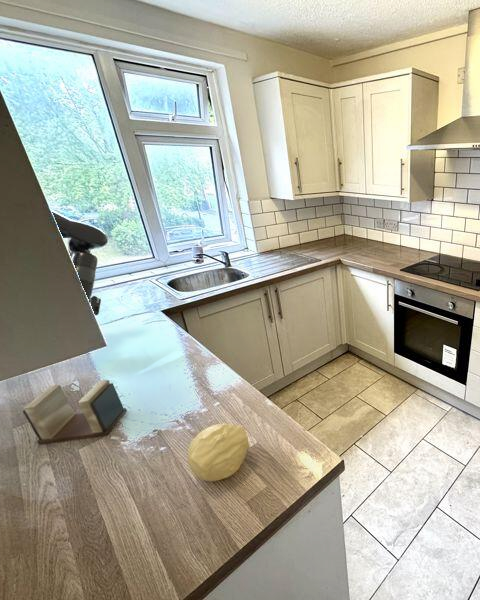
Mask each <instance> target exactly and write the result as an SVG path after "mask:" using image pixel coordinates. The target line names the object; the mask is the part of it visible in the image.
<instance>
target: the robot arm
mask: <svg viewBox="0 0 480 600" xmlns="http://www.w3.org/2000/svg"><path fill="white" fill-rule="evenodd" d="M52 213H53V215H54V217H55V220H56V222H57V225H58V227H59V230H60V232H61V234H62V236H63V238H62V239H67V249H68V254H69V253H70V255H69V257H70V256H71V258H72V261H73V263H74V265H75V268H76V270H77V272H78V275H79V278H80V281H81V283H82V286H83V288H84V290H85V292H86V295H87V297H88V299H89V304H91V306H92V309H93V311H94V314H95V315H94V316H98V315H99V314H100V308H101V302H102V299H101V298H100V297H98V296H96V295H93V296H92V294H93V291H94V287H95V281H96V272H97V267H98V257H97V256H96V255H95V254H94V253H91V251H92V250H96V249H100V248H103V247H105V246H107V244H108V242H109V238H108V236H107V234H106V233H105V232H104V231H103V230H101V228H98V227H96V226H94V225H90V224H88V223H84V222H81V221H77V220H75V219H74V220H73V219H71V218H68V217H67V216H64V215H63V214H60V213H59V212H57V211H54V210H52Z"/></svg>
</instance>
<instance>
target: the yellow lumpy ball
mask: <svg viewBox="0 0 480 600" xmlns="http://www.w3.org/2000/svg"><path fill="white" fill-rule="evenodd" d="M249 449H250V443H249V436H248V435H247V432H246V429H245V427H244V426H243V425H241V424H240V425H239V424H236V425H232V424H229V423H217V424H213V425H210V426H207V427H206V428H204V429H203V430H201V431H200V432H199V433H198V434H197V435H196V436H194V438H193V440H192V441H191V443H190V445H189V447H188V450H187V464H188V467H189V469H190V471H191V472H192V474H193V475H194V476H195V477H197V478H198V479H200V480H202V481H205V482H217V481H221V480H224V479H227V478H229V477H231V476H233V475H234V474H235V473H236V472H237V471H238V470H239V469H240V468H241V465H242V464H243V463H244V460H245V458H246V456H247V452H248V450H249Z"/></svg>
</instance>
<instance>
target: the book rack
mask: <svg viewBox="0 0 480 600" xmlns="http://www.w3.org/2000/svg"><path fill="white" fill-rule="evenodd" d="M77 403H78V405H79V408H80V409H81V411H82V412H79V413H75V411H74V410H73V407H72V405H71V404H70V401H69V400H68V398H67V396H66V394H65V392H64V390H63V388H62V387H61V384H54V385H50V386H49V387H48V388H46V389H45V390H44V391H43V392H41V393H40V394H39V395H37V397H36V398H34V399H33V400H31V401H30V402H29V403H28V404H27V405H26V406H24V408H23V410H22V413H23V415H24V417H25V418H26V420H27V421H28V423H29V425H30V427H31V428H32V430H33V432H34V433H35V435H36V437H37V438H38V439H37V440H36V443H37V444H38V445H43V444H50V443H51V444H52V443H59V442H66V441H72V440H73V441H75V440H82V439H91V438H97V437H105V436H108V435H110V433H111V432H112V431H113V429H114V428H115V427H116V425H117V424H118V423H119V421H121V419H122V418H123V417H124V416H125V414H126V413H127V411H128V409H127V408H126V407H124V406H123V404H122V402H121V399H120V396H119V394H118V391H117V390H116V386H115V385H114V382H110V380H109V379H103V380H99V381H98V382H97V383H96V384H95V385H94V386H93V387H92V388H91V389H90V390H89V391H88V392H87V393H86V394H85V395H84V396H83V397H82V398H81V399H80V400H78V402H77Z"/></svg>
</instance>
